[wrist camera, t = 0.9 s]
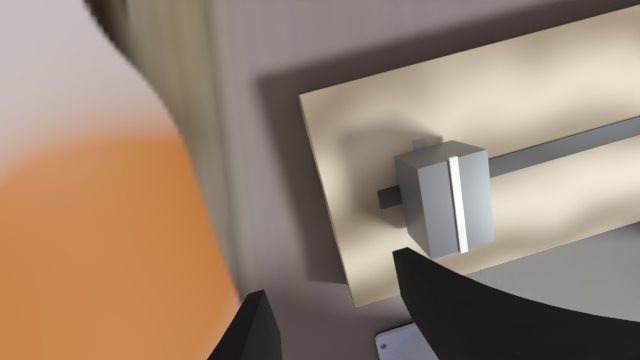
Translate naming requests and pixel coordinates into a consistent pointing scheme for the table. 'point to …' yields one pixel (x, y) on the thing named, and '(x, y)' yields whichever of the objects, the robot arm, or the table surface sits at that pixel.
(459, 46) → the table surface
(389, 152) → the console board
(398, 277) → the robot arm
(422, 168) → the fader
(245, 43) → the table surface
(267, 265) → the table surface
